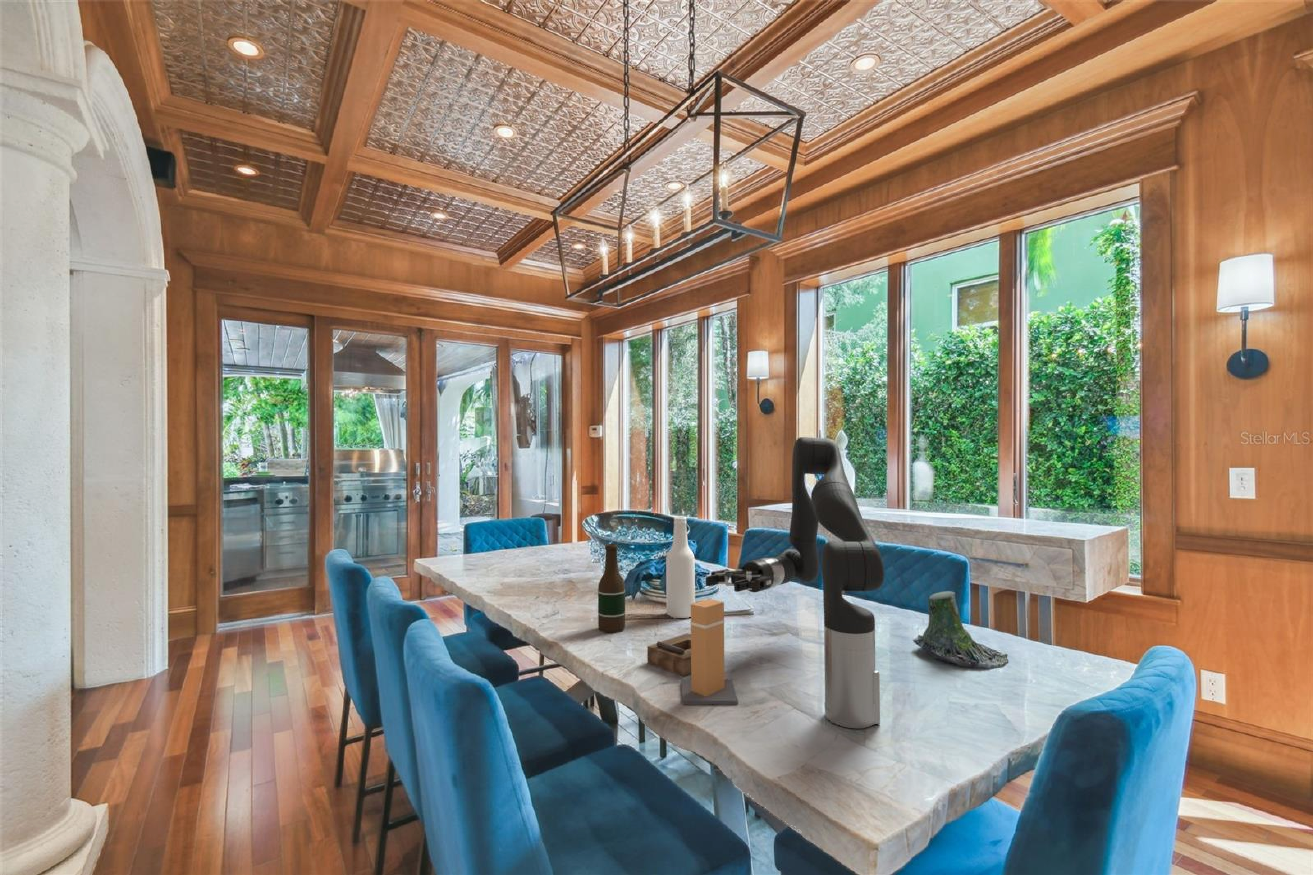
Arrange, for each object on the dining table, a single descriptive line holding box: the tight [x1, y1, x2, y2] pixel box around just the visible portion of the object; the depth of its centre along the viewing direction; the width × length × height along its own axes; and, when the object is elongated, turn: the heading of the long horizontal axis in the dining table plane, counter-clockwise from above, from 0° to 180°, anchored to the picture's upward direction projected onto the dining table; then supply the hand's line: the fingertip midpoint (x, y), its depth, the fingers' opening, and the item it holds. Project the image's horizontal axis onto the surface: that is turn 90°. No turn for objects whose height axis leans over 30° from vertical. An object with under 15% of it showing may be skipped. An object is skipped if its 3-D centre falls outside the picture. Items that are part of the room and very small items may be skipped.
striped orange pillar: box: [690, 598, 726, 696], centre depth 125 cm, size 4×6×18 cm
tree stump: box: [912, 590, 1009, 670], centre depth 146 cm, size 18×20×18 cm
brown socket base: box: [646, 633, 691, 677], centre depth 143 cm, size 12×14×5 cm
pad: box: [680, 678, 739, 706], centre depth 125 cm, size 11×11×1 cm
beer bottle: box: [597, 543, 626, 634], centre depth 170 cm, size 8×8×24 cm
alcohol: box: [665, 516, 696, 619], centre depth 184 cm, size 9×9×30 cm
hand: (720, 584), depth 138 cm, fingers open, 8 cm apart
